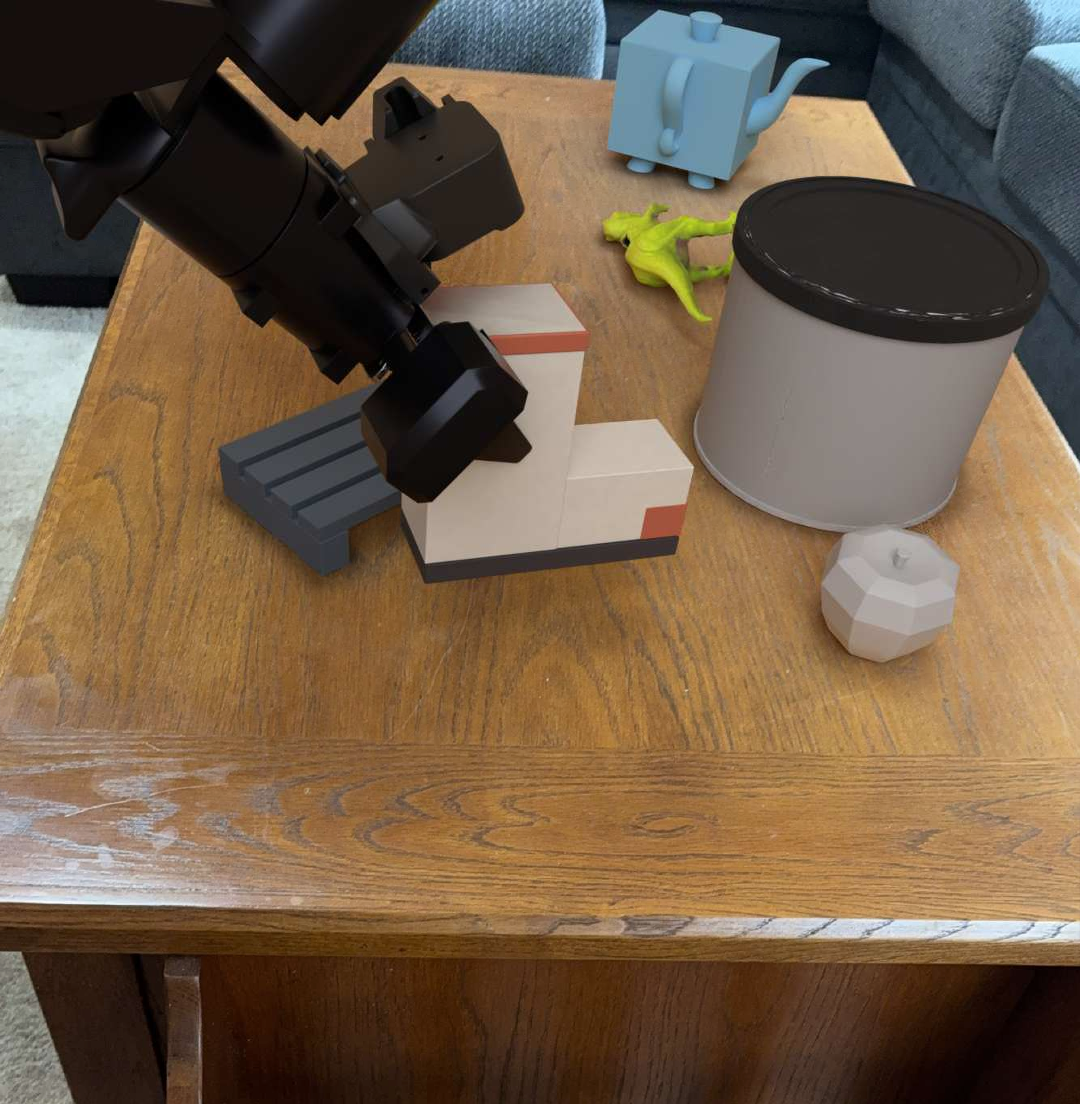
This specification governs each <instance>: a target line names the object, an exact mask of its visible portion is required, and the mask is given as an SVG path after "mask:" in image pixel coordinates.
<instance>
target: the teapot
mask: <svg viewBox="0 0 1080 1104" xmlns="http://www.w3.org/2000/svg"><path fill="white" fill-rule="evenodd" d="M723 20H724V19H723V18H722V16H720V15H719V14H716V13H714V12H710V11H705V10H704V11H703V10H702V11H701V10H700V11H695V12H692V13H690V15H689V16H687V15H683V14H678V13H674V12H670V11H666V10H661V9H657V11H655V12H654V13H653V14H652V15H651V16H648V18H646V19H645V20H643V22H641V23H640V24H639V25H638V26H636V27H635V28H634V29H632V30H631V31H630V32H629V33H628V34H627V35H626V36H624V37H623V38H621V39H620V44H619V45H620V46H619V53H618V61H617V69H616V75H615V83H614V84H615V85H614V91H613V101H612V108H611V115H610V124H609V130H608V138H607V146H606V150H608V151H612V152H616V153H620V154H623V155H627V156H631V158H630V160H629V161H628V163H627V164H626V167H627V168H628V169H629V170H630V171H633V172H635V173H645V174H646V173H651V172H653V170H654V169H655V166H656V164H657V163H658V164H662V165H665V166H669V167H672V168H678V169H681V170H686V171H688V178H687V183H688V184H689V185H690V186H692V187H694V188H697V189H702V190H709V189H712V188H714V187H715V186H716V185H715V184H716V183H715V178H716V179H720V180H724V181H728V182H729V181H730V180H731V178H732V177H733V176H734V175H735V173H736V172H737V170H738V169H739V168H740V167H741V165H743V163H744V162H745V160H746V159H747V158H748V157H749V155H750V154H751V153H752V152H753V150H754V149H755V148H756V146H757V145H758V142H759V137H760V134H761V133H763V132H765V131H767V130H768V129H769V128H771V126H773V125H774V124H775V123H776V121H778V119H779V118H780V117H781V115H782V113H783V112H784V111H785V108H786V106H787V104H788V103H789V101H790V98H791V97H792V95H793V93H794V91H795V89H796V88H797V86H798V85H799V84H800V83H801V81H802V80H803V79H804V78H805V77H806V76H807V75H808V74H810V73H811V72H813V71H816V70H819V69H821V68H825V67H828V66H830V65H831V64H830V62H828V61H825V60H822V59H817V58H811V57H803V58H799V59H797V60H795V61H794V62H792V63H791V64H790V65H789V66H788V67H787V69H786V70H785V71H784V73H783V75H782V76H781V78H780V80H779V81H778V83H777V85H776V87H774V88H773V91H772V92H771V93H770V89H771V84H772V80H773V76H774V70H775V66H776V63H777V62H776V61H777V57H778V52H779V48H780V43H781V38H780V37H779V36H778V37H777V36H774V35H769V34H765V33H761V32H757V31H752V30H748V29H743V28H739V27H735V26H731V25H727V24H723Z"/></svg>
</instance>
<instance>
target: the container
mask: <svg viewBox="0 0 1080 1104" xmlns="http://www.w3.org/2000/svg"><path fill="white" fill-rule="evenodd" d="M737 213H738V214H737V218H736V222H735V227H734V231H733V234H732V237H731V245H732V250H733V252H734V258H733V262H732V267H731V271H730V275H728V279H727V286H726V289H725V294H724V299H723V303H722V307H721V312H720V317H719V321H718V325H717V330H716V334H715V339H714V343H713V347H712V352H711V357H710V361H709V366H708V370H707V375H706V379H705V384H704V388H703V393H702V396H701V402H700V406H699V408H698V410H697V411H696V414H695V418H694V422H693V429H692V437H693V443H694V447H695V450H696V453H697V455H698V457H699V459H700V460H701V462H702V463H703V465H704V467H705V468H706V470H707V471H709V473H710V474H711V476H713V477H714V478H715V479H716V481H718V482H719V483H720V485H722V486H723V487H724V488H726V489H727V490H728V491H729V492H731V493H732V494H734V495H735V496H737V497H738V498H739V499H741V500H742V501H744V502H746V503H748V504H749V505H751V506H754V507H755V508H757V509H758V510H761V511H763V512H765V513H767V514H770V515H772V516H774V517H777V518H779V519H782V520H785V521H787V522H791V523H794V524H797V525H801V526H805V527H809V528H812V529H813V528H814V529H817V530H824V531H830V532H834V533H836V532H837V533H843V534H846V533H850V532H854V531H858V530H862V529H865V528H869V527H873V526H877V525H881V524H887V525H891V526H895V527H898V528H902V529H907V528H911V527H913V526H917V525H919V524H921V523H924V522H926V521H928V520H929V519H931V518H933V517H934V516H936V515H937V514H938V513H939V512H940V511H941V510H943V509H944V508H945V507H946V505H947V504H948V503H949V501H950V500H951V498H952V496H953V495H954V492H955V489H956V487H957V483H958V478H959V474H960V472H961V470H962V467H963V466H964V463H965V461H966V459H967V456H968V454H969V451H970V449H971V447H972V445H973V444H974V440H975V438H976V436H977V433H978V431H979V429H980V427H981V426H982V425H981V424H982V422H983V420H984V418H985V416H986V413H987V412H988V409H989V407H990V404H991V402H992V400H993V398H994V395H995V393H996V391H997V389H998V386H999V384H1000V383H1001V380H1002V378H1003V376H1004V373H1005V371H1006V368H1007V366H1008V364H1009V361H1010V359H1011V358H1012V355H1013V354H1014V351H1015V349H1016V346H1017V344H1018V341H1019V339H1020V337H1021V335H1022V333H1023V330H1024V328H1025V326H1026V325H1028V324H1029V323H1030V322H1031V321H1032V320H1033V319H1034V317H1035V316H1037V314H1038V311H1039V309H1040V308H1041V305H1042V303H1043V301H1044V298H1045V296H1046V295H1047V292H1048V290H1049V287H1050V283H1051V275H1050V274H1051V271H1050V269H1049V265H1048V263H1047V261H1046V259H1045V257H1044V256H1043V254H1042V253H1041V252H1040V250H1039V248H1037V247H1036V245H1035V244H1034V243H1033V242H1032V241H1031V240H1030V239H1028V238H1027V237H1026V236H1025V235H1023V233H1021V232H1020V231H1019V230H1017V229H1016V228H1015V227H1014V226H1012V225H1010V224H1008V223H1007V222H1005V221H1004V220H1002V219H1001V218H999V217H997V216H995V215H993V214H992V213H990V212H988V211H985V210H984V209H981V208H978V207H977V206H975V205H972V204H970V203H969V202H965V201H963V200H961V199H957V198H955V197H952V196H949V195H946V194H944V193H940V192H937V191H933V190H930V189H927V188H923V187H920V186H915V185H912V184H906V183H902V182H897V181H892V180H886V179H879V178H878V179H877V178H871V177H862V176H851V175H815V176H805V177H803V176H802V177H796V178H791V179H786V180H781V181H778V182H775V183H771V184H769V185H766V186H763V187H762V188H760V189H758V190H756V191H754V192H753V193H752V194H749V196H748V197H746V199H744V201H743V202H742V203H741V205H740V207H739V208H738V211H737Z"/></svg>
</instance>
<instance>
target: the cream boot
mask: <svg viewBox="0 0 1080 1104" xmlns="http://www.w3.org/2000/svg"><path fill="white" fill-rule="evenodd" d="M421 305H422V307H423V308H424V310H425V311H426V313H427V314H428V316H429V317H430V319H431V320H432V322H433V323H434V325H437V324H439V323H441V322H443V321H450V322H451V323H455V322H464V321H469V322H470V323H471V324H472V325H473V326H474V327H475V328H476V329H477V330H478V331H480V330H481V329H483V330H484V331H485V333H486V334H487V335H488V337H489V338H490V340H491V341H492V342H493V344H494V345H495V347H496V348H497V349H498V351H499V352H500V354H501V355H502V356H503V357H504V358H505V360H506V361H507V363H508V364H509V365H510V367H511V368H512V370H513V371H514V372H515V374H516V375H517V377H518V378H519V379H520V381H521V382H522V383H523V385H524V386H525V388H526V389H527V390H528V392H529V393H528V396H527V400H526V404H525V408H524V411H523V412H522V413H521V414H520V415H519V416H518V417H517V418H516V419H515V420H514V421H515V423H516V424H517V426H518V427H519V428H520V430H521V431H522V433H523V434H524V435H525V437H526V438H527V439H528V441H529V442H530V444H531V445H532V450H531V451H530V452H529V453H528V454H527V455H526V456H525V457H524V458H523V459H522V460H521V461H520V462H519V463H516V464H515V463H503V462H491V461H480V460H474V461H473V462H472V463H471V464H470V465H469V466H468V467H467V468H466V469H465V470H464V471H463V472H462V473H461V474H460V475H459V476H458V477H457V478H456V479H455V480H454V481H453V482H452V483H451V484H450V485H449V486H448V487H447V488H446V489H445V490H444V491H443V492H442V493H441V494H440V495H439V496H438V497H437V498H436V499H435V500H434V501H433V502H429V503H419V504H418V503H416V502H415V501H413V500H412V499H411V498H409V497H408V496H406V495H405V494H403V493H402V503H401V508H400V528H401V530H402V532H403V534H404V537H405V539H406V543H407V545H408V547H409V549H410V552H411V555H412V556H413V560H414V561H415V564H416V566H417V568H418V571H419V573H420V576H421V578H422V581H423V583H424V584H425V585H429V584H439V583H448V582H456V581H464V580H472V579H473V580H474V579H480V578H489V577H498V576H505V575H515V574H524V573H531V572H540V571H541V572H542V571H550V570H559V569H564V568H565V569H566V568H574V567H583V566H592V565H600V564H601V565H602V564H608V563H618V562H625V561H634V560H642V559H643V560H644V559H652V558H658V557H660V558H661V557H668V556H675V555H676V553H677V549H678V545H679V540H680V536H681V535H682V530H683V527H684V522H685V518H686V514H687V510H688V506H689V505H688V503H687V499H688V497H689V492H690V487H691V483H692V479H693V478H692V477H693V474H694V470H695V466H694V465H693V464H692V462H691V461H690V460H689V458H688V457H687V455H685V453H684V452H683V450H682V449H681V448H680V446H679V445H678V444H677V442H676V441H675V440H674V439H673V437H672V436H671V434H670V433H669V432H668V431H667V429H666V428H665V427H664V426H663V424H662V423H661V421H660V420H659V419H658V418H651V419H650V418H649V419H637V420H623V421H611V422H610V421H609V422H598V423H597V422H596V423H585V424H575V422H576V415H577V408H578V401H579V394H580V388H581V381H582V374H583V367H584V360H585V352H587V351H588V350H589V344H590V337H591V332H590V330H589V329H588V327H587V326H586V325H585V323H584V322H583V321H582V319H581V318H580V317H579V316H578V314H577V313H576V312H575V310H574V309H573V308H572V306H571V305H570V303H569V302H568V301H567V300H566V299H565V297H564V296H563V295H562V293H561V292H560V291H559V290H558V288H557V286H556V285H555V284H554V283H553V282H533V283H531V282H529V283H527V282H526V283H501V284H499V283H498V284H473V285H470V284H469V285H439V286H438V287H437V288H436V289H435V290H434V291H433V292H432V294H431V295H430V296H429V297H428V298H427V299H426V300H425V301H424V302H423V303H422V304H421ZM406 330H407V332H408V329H407V328H406ZM408 333H409V332H408ZM409 335H410V336H411V333H409ZM411 338H412V340H413V341H414V338H413V337H412V336H411ZM414 343H415V344H416V346H417V343H416V342H415V341H414Z"/></svg>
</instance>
